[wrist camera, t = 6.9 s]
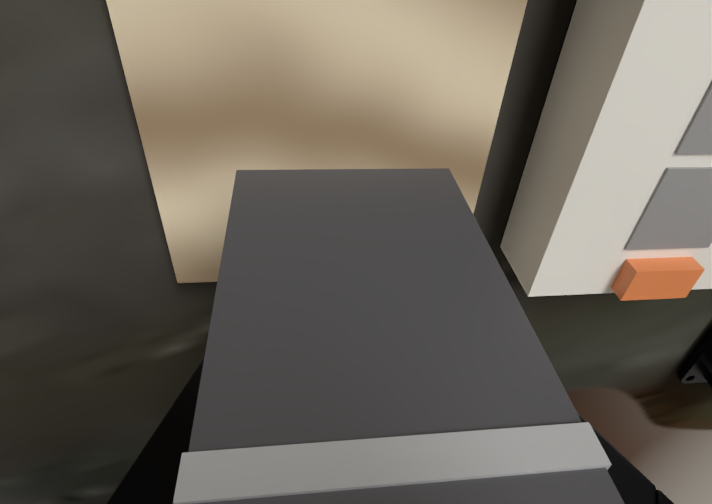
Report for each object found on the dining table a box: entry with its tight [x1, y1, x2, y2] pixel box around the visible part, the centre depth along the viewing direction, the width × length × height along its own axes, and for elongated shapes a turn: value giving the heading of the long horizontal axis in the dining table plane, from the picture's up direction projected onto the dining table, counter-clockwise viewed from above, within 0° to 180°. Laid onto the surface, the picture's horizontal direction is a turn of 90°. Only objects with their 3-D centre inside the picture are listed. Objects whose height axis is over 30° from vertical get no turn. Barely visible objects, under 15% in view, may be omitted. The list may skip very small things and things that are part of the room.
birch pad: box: [106, 0, 527, 283], centre depth 15 cm, size 11×11×1 cm
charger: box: [173, 168, 625, 504], centre depth 8 cm, size 4×4×7 cm
